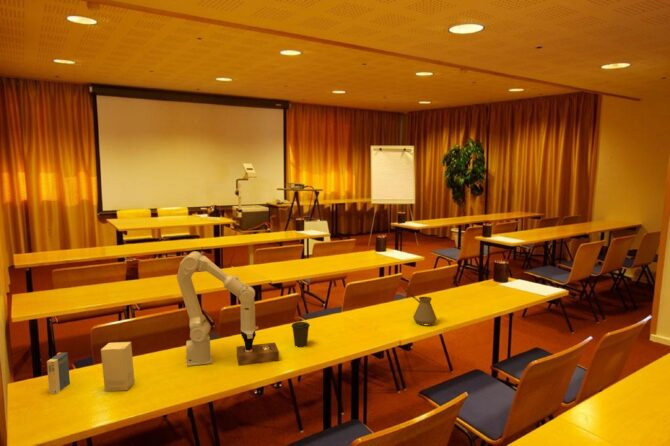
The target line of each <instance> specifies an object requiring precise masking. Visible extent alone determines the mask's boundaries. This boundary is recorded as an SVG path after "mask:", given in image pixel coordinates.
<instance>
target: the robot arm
mask: <svg viewBox="0 0 670 446" xmlns="http://www.w3.org/2000/svg"><path fill="white" fill-rule="evenodd" d="M197 269H198V270H197ZM196 270H197V272H207V273H209V274H210V275H211V276H213V277H215V279H218V280H219V281H220V282H222V283H223V288H225V289H226V290H227V291H229V292H231V293H232V295H233V296H234V295H235V296H236V297H237V298H238V300H239V301H240V308H239V309H240V335H241V337H242V340H243V342H244V346H245V348H246V350H251V349H252V345H254V344H253V343H254V340H255V337H256V336H257V333H256V330H259V325H256V307H255V303H256V302H255V296H256V290H255V289H254V288H253V286H252V285H249V284H247V283H246V284H245V283H244V282H242V281H241V280H240V279H239V278H240V277H239V276H238V275H236V276H235V275H228V274H227V273H226V272H225V271H223V270H222V269H221V268H220V267H219V266H217V265H216V264H215V263H214V262H213V261H211V259H209V258H208V257H207V256H206V255H203V254H202V253H201V252H200V251H195V250H194V251H191V252H190V253H189V254H188V255H186V256H185V257H183V258H182V260H181V261H180V262H179V268H178V272H177V275H176V280H177V283H178V286H179V290H180V293H181V295H182V299H183V302H184V305H185V307H186V308H185V309H186V312H187V315H188V317H189V329H190V331H189V338H190V339H189V340H186V343H185V344H186V345H185V347H186V352H185V353H186V355H185V359H186V366H187V367H188V366H189V367H191V366H198V365H199V366H200V365H206V364H207V365H208V364H209V365H210V364H213V363H212V362H213V358H212V356H213V355H212V354H211V353H212V352H211V336H210V335H209V333H210V331H211V324H210V322H209V321H208V320H207V318H206V316H205V315H204V314H203V312H202V309H201V305H200V301H199V299H198V295H197V293H196V289H195V286H194V285H195V284H194V282H193V279H192V276H193V275H194V273H195V272H196Z"/></svg>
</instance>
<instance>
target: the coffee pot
mask: <svg viewBox="0 0 670 446" xmlns="http://www.w3.org/2000/svg"><path fill="white" fill-rule="evenodd" d="M401 291H403V292H405V293H407V294H408V295H409V296H410V297H411V298H413V299H414V300H415V301H417V303H418V305H417V308H416V310H415V313H413V320H414V322H415V323H419V324H432V323H433V324H434V323H435V322H436V321H437V315H436V313H435V310H434V309H433V306H432V303H431V301H432V300H433V299H432V297H431V296H419V297H418V298H417V297H416V296H415V295H414V294H413V293H412V292H410V291H409V290H408V289H406V288H405V287H404V288H402V290H401ZM419 324H418V325H419ZM433 324H432V325H433Z"/></svg>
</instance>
